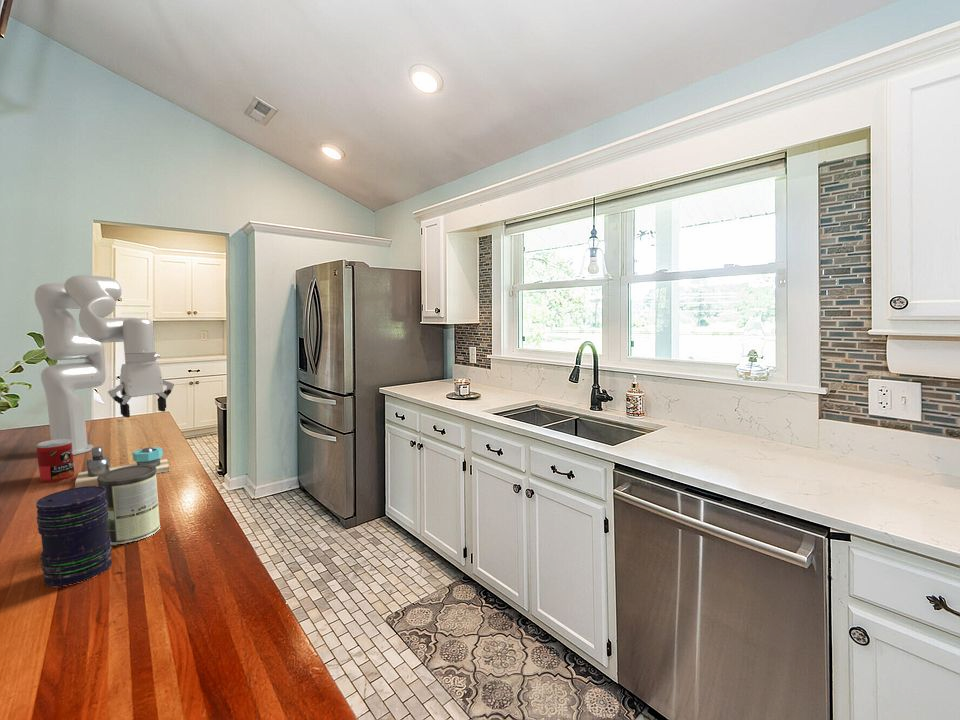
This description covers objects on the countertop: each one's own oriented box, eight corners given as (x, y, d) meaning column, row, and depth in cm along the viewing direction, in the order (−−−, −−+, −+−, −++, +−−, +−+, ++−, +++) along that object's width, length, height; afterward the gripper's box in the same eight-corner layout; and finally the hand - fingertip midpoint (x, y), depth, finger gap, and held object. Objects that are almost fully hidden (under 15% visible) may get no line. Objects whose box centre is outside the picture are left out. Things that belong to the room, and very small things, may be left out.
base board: (79, 477, 138) (78, 472, 138) (167, 462, 151) (167, 458, 151) (75, 488, 129) (74, 483, 129) (169, 471, 142) (169, 467, 142)
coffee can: (90, 547, 96) (84, 481, 95) (124, 524, 106) (118, 465, 105) (142, 544, 97) (137, 479, 96) (170, 522, 107) (166, 464, 106)
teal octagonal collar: (130, 459, 142) (129, 451, 142) (155, 453, 148) (154, 446, 148) (140, 463, 139) (140, 455, 138) (166, 456, 145) (165, 449, 144)
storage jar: (109, 553, 94) (103, 482, 92) (116, 572, 87) (109, 495, 85) (42, 572, 87) (34, 495, 85) (43, 594, 80) (35, 511, 78)
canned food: (54, 483, 133) (50, 446, 132) (32, 481, 135) (28, 445, 134) (81, 474, 141) (78, 439, 140) (60, 472, 142) (57, 438, 141)
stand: (88, 473, 137) (86, 447, 136) (110, 470, 140) (108, 444, 139) (87, 478, 133) (85, 451, 132) (109, 474, 136) (107, 448, 135)
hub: (136, 465, 144) (135, 448, 144) (160, 461, 148) (158, 444, 147) (136, 470, 140) (135, 452, 139) (160, 466, 143) (159, 449, 143)
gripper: (165, 356, 150) (169, 407, 151) (100, 360, 135) (105, 417, 137) (177, 357, 146) (180, 410, 148) (111, 362, 131) (116, 420, 133)
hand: (144, 413), depth 142 cm, fingers open, 9 cm apart
